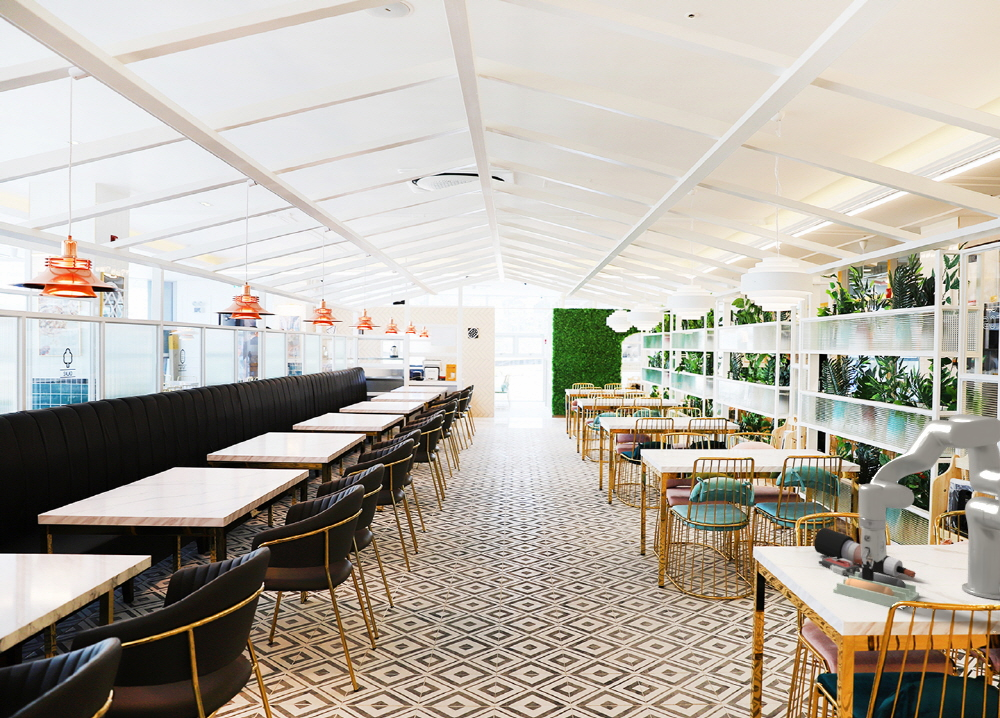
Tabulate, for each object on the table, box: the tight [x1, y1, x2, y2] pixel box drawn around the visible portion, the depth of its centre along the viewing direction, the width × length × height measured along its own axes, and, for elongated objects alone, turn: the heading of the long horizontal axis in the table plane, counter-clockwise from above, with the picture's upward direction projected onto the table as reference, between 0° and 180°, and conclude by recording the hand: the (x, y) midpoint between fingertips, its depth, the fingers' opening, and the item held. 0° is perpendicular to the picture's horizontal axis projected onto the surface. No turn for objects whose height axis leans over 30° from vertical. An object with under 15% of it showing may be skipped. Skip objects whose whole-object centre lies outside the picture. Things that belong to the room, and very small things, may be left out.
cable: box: [813, 527, 917, 579], centre depth 239 cm, size 10×34×10 cm, turn 31°
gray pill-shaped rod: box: [858, 571, 906, 588], centre depth 215 cm, size 14×4×4 cm, turn 43°
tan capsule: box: [845, 577, 894, 596], centre depth 208 cm, size 14×4×4 cm, turn 43°
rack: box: [832, 571, 920, 610], centre depth 211 cm, size 20×18×3 cm
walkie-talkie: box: [818, 556, 861, 577], centre depth 233 cm, size 9×4×20 cm
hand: (873, 576), depth 208 cm, fingers open, 9 cm apart
